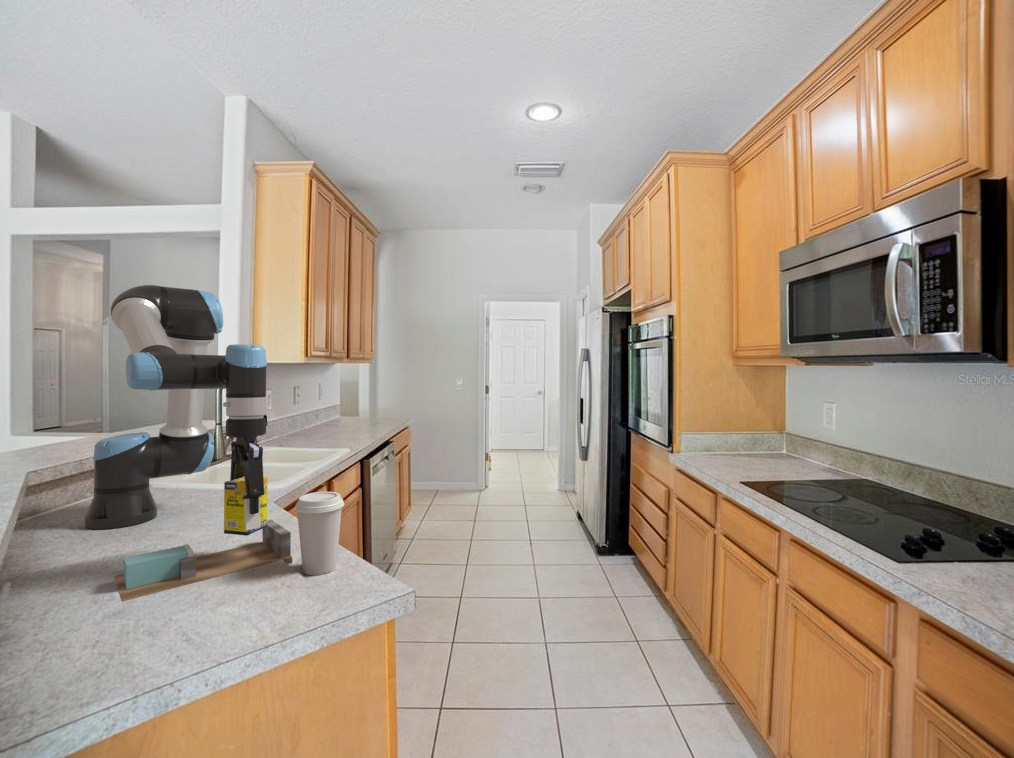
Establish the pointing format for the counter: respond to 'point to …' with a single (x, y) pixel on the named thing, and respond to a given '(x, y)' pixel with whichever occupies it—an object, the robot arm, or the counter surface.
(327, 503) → the coffee cup
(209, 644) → the counter surface
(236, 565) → the rail base
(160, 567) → the teal rectangular block
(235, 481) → the supplement box
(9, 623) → the counter surface
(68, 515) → the counter surface
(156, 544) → the counter surface
